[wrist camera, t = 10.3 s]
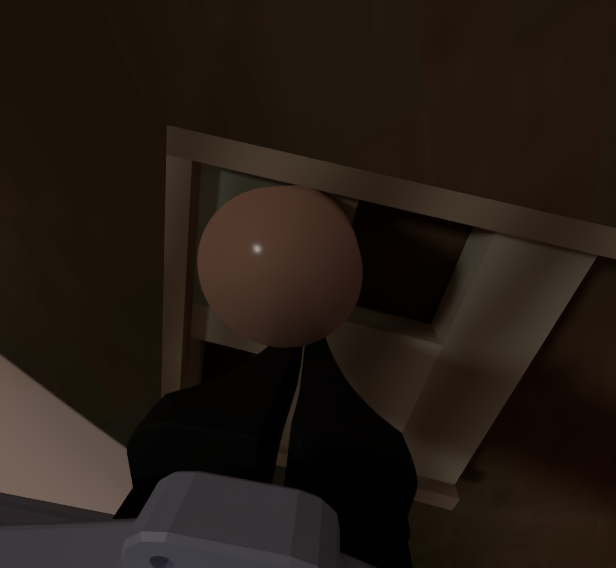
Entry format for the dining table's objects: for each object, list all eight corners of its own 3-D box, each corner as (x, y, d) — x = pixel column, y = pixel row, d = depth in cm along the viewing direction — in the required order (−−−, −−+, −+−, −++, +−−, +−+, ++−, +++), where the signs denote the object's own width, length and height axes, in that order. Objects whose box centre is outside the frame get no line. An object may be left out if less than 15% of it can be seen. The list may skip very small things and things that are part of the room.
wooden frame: (575, 219, 13) (634, 232, 10) (437, 463, 19) (452, 510, 16) (201, 134, 13) (166, 125, 11) (185, 398, 19) (160, 434, 17)
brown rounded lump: (381, 251, 12) (399, 282, 8) (295, 321, 14) (277, 374, 10) (298, 156, 11) (277, 144, 7) (217, 242, 13) (165, 267, 9)
